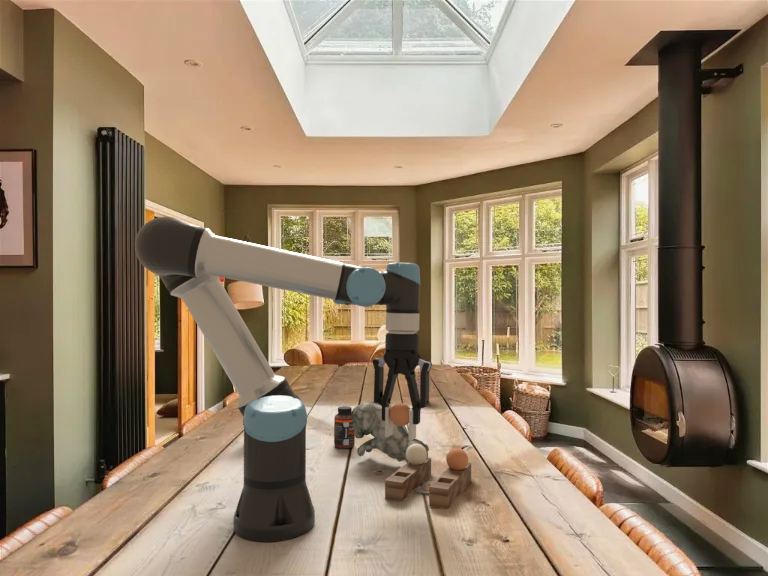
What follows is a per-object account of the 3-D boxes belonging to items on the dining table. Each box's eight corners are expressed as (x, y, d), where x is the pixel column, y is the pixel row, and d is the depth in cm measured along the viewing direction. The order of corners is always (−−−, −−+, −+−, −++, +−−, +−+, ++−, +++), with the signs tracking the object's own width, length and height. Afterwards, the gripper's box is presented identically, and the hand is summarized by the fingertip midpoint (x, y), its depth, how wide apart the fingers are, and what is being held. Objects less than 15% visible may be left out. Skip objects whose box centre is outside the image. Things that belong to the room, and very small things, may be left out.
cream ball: (422, 469, 125) (422, 447, 126) (402, 466, 127) (402, 445, 128) (429, 463, 130) (429, 442, 130) (410, 460, 132) (410, 440, 132)
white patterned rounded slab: (408, 397, 233) (408, 362, 234) (420, 396, 234) (420, 362, 235) (421, 407, 213) (421, 368, 213) (435, 406, 214) (435, 368, 214)
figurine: (349, 477, 138) (414, 470, 128) (344, 403, 145) (405, 390, 134) (372, 475, 146) (435, 468, 135) (366, 405, 152) (426, 393, 141)
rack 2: (447, 509, 111) (447, 489, 111) (429, 506, 113) (429, 486, 113) (471, 480, 128) (471, 463, 129) (454, 477, 130) (454, 461, 130)
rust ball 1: (406, 429, 117) (407, 406, 117) (385, 426, 119) (386, 403, 119) (414, 424, 122) (415, 402, 122) (394, 422, 124) (395, 400, 124)
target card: (434, 495, 119) (434, 493, 119) (415, 492, 120) (415, 490, 120) (444, 485, 125) (444, 483, 125) (426, 482, 127) (426, 480, 127)
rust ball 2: (465, 475, 121) (464, 452, 122) (443, 472, 123) (443, 450, 124) (470, 468, 126) (470, 447, 126) (449, 465, 128) (449, 444, 128)
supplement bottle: (351, 449, 154) (351, 409, 154) (331, 448, 155) (331, 408, 155) (357, 444, 160) (357, 405, 160) (337, 443, 161) (337, 404, 161)
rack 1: (402, 501, 115) (402, 482, 115) (385, 498, 117) (385, 480, 117) (431, 474, 133) (431, 458, 133) (415, 472, 134) (415, 456, 134)
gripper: (446, 333, 121) (444, 438, 120) (372, 329, 128) (370, 428, 128) (435, 335, 114) (433, 446, 114) (358, 331, 121) (356, 436, 121)
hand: (400, 436), depth 121 cm, fingers closed on rust ball 1, 5 cm apart
